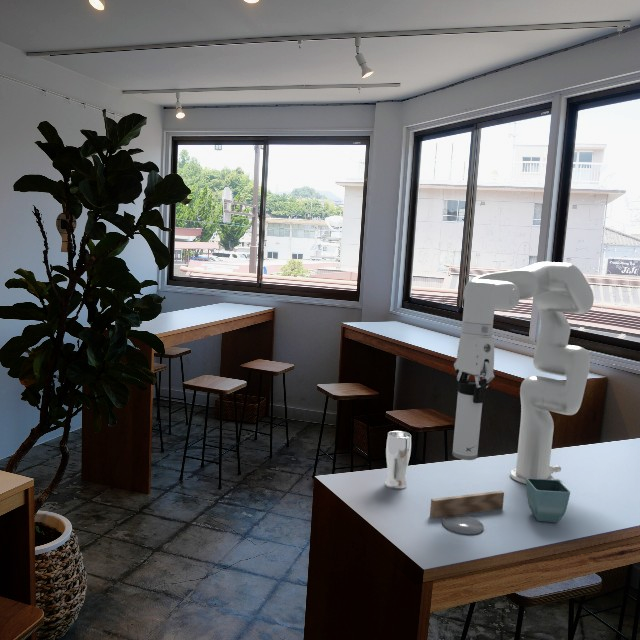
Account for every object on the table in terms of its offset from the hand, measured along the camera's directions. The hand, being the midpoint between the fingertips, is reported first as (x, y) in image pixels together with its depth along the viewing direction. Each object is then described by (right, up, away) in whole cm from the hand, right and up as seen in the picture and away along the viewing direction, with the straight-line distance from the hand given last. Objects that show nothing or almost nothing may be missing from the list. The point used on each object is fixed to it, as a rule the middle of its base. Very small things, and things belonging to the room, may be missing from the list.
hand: (470, 398), depth 160 cm
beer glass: (-17, -27, +19) cm, 37 cm away
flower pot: (+20, -31, +3) cm, 37 cm away
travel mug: (-1, -15, +1) cm, 15 cm away
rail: (0, -30, +3) cm, 30 cm away
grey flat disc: (-3, -31, -5) cm, 31 cm away
